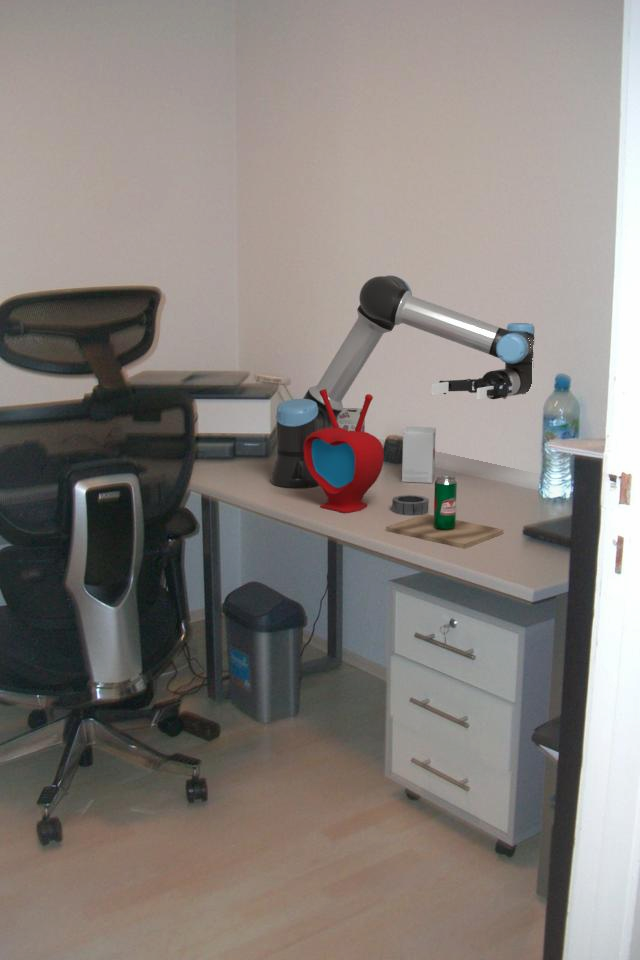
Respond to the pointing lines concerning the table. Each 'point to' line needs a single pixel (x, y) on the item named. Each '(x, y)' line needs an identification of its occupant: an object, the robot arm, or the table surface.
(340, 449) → the novelty television
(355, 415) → the candy bar box
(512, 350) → the robot arm
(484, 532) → the walnut board
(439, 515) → the soda can
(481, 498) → the table surface
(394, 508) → the sleeve
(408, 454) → the supplement box
